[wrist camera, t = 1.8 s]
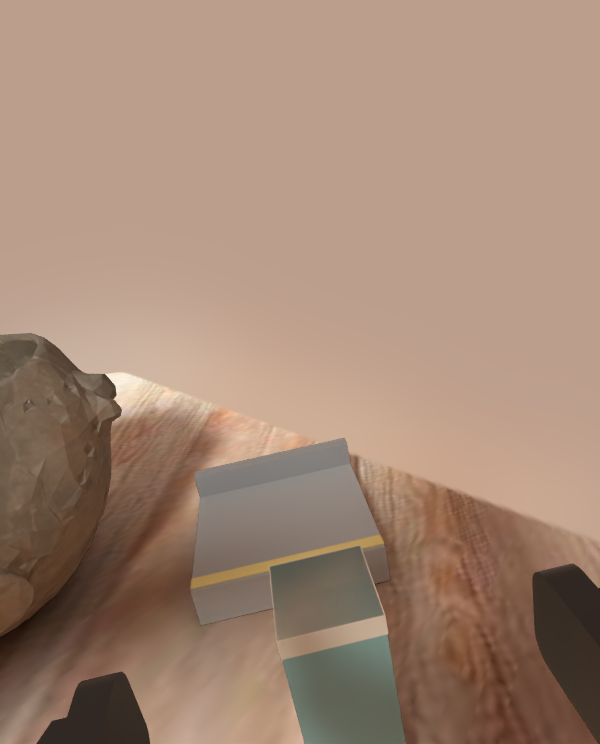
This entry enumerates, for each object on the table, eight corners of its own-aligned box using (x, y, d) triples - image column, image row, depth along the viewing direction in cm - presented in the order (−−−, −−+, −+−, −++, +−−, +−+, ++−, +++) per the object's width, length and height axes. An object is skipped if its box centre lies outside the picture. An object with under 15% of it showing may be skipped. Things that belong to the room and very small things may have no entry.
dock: (201, 625, 39) (182, 568, 37) (208, 517, 51) (195, 471, 49) (390, 580, 39) (381, 522, 37) (352, 484, 52) (344, 437, 50)
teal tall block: (322, 828, 25) (272, 645, 21) (309, 731, 30) (265, 564, 26) (420, 803, 26) (390, 617, 22) (392, 710, 30) (362, 542, 26)
